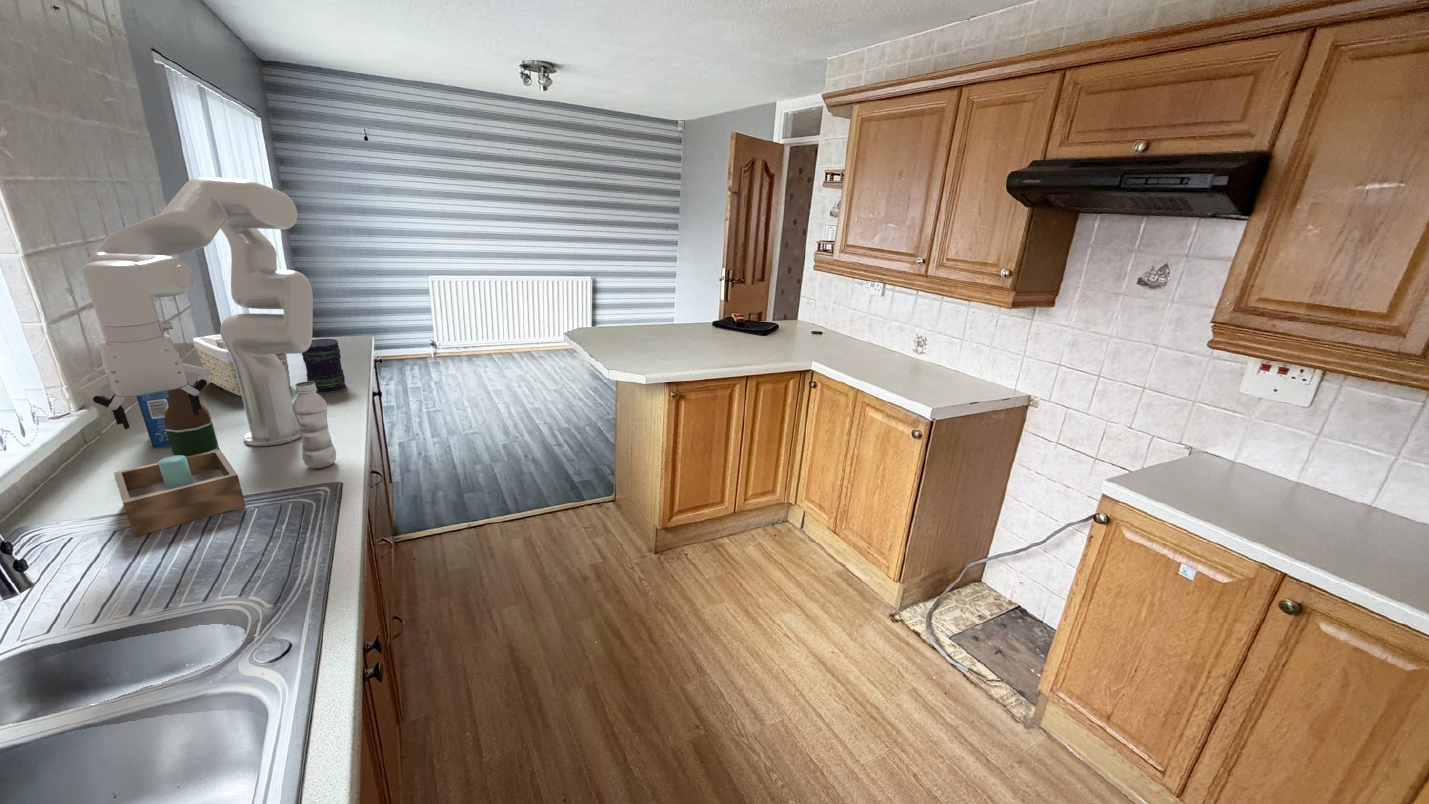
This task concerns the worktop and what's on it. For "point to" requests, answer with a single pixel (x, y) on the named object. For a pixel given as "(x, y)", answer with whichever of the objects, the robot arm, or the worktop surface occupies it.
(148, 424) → the blue food package
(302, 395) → the plastic bottle
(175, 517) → the box
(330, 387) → the storage jar
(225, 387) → the storage basket
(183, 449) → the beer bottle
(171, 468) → the peg
